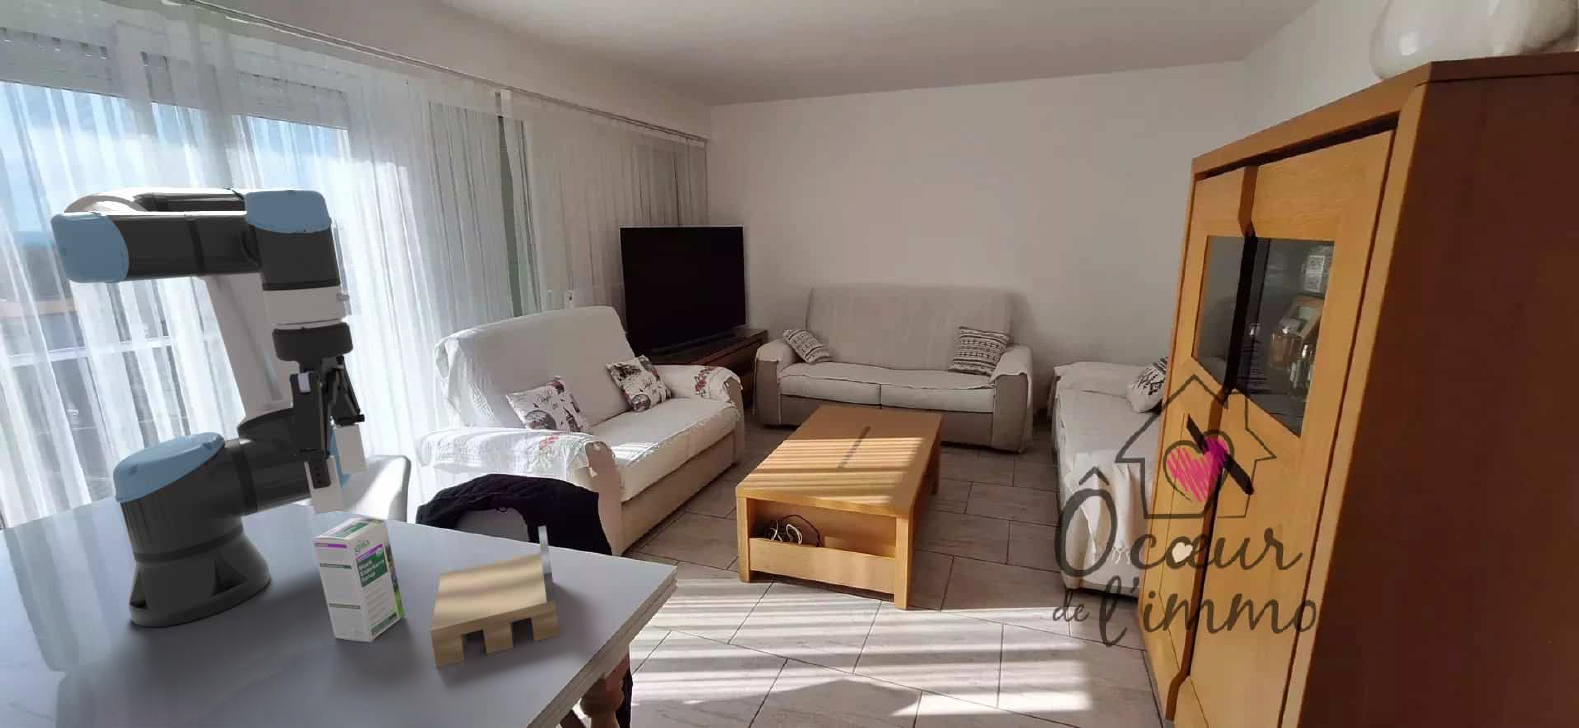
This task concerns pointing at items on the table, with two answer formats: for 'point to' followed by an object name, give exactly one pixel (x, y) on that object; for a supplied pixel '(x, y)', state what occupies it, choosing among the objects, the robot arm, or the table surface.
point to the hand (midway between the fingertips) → (343, 490)
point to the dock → (494, 603)
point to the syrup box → (359, 579)
